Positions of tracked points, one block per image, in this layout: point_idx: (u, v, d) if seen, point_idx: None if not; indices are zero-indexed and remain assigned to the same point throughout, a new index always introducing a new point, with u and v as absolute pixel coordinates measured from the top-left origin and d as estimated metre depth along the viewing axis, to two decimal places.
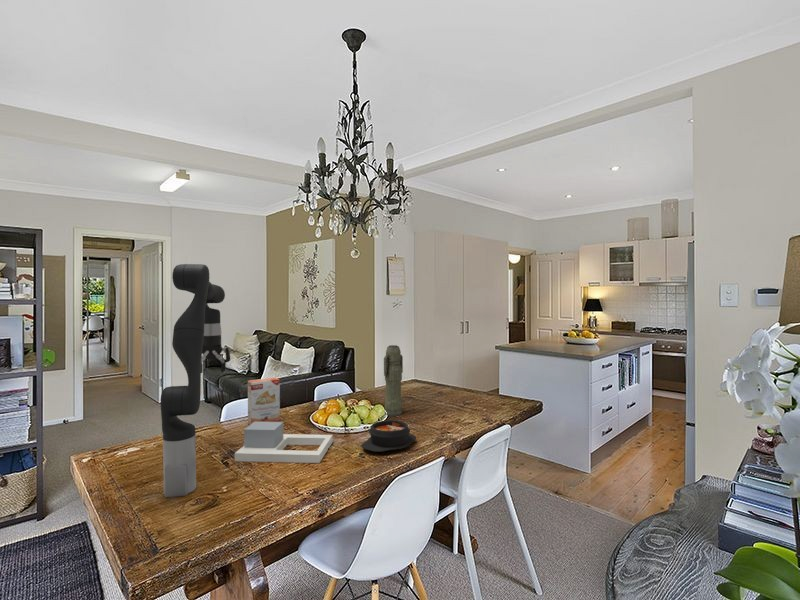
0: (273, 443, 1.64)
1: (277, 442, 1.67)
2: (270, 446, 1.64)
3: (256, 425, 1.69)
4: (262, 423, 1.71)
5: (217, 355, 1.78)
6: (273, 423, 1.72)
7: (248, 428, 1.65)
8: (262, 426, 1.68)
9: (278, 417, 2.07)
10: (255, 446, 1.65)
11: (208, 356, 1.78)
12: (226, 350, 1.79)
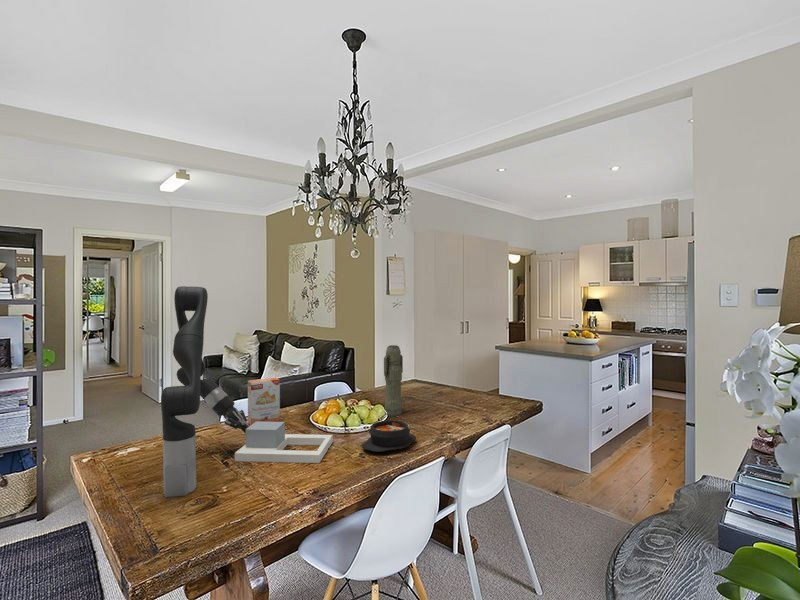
0: (275, 443, 1.64)
1: (278, 442, 1.67)
2: (272, 446, 1.64)
3: (257, 425, 1.69)
4: (264, 423, 1.71)
5: (239, 414, 1.71)
6: (275, 423, 1.72)
7: (250, 428, 1.65)
8: (264, 426, 1.68)
9: (278, 417, 2.07)
10: (257, 446, 1.65)
11: None
12: (242, 411, 1.75)
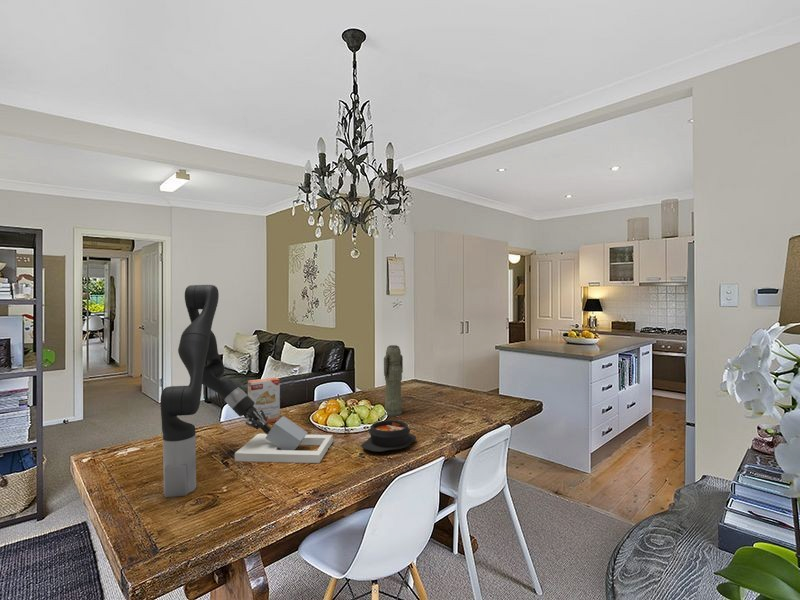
0: None
1: None
2: None
3: (285, 423, 1.69)
4: (290, 424, 1.71)
5: (260, 414, 1.71)
6: (299, 429, 1.72)
7: (278, 425, 1.65)
8: (290, 428, 1.68)
9: (278, 417, 2.07)
10: (275, 443, 1.64)
11: (256, 415, 1.70)
12: (262, 411, 1.74)
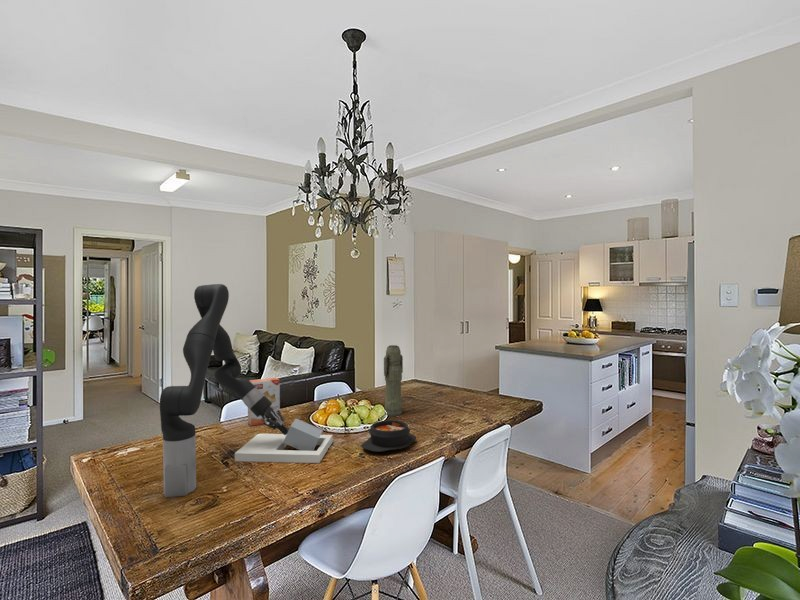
0: (312, 450, 1.65)
1: None
2: None
3: (299, 425, 1.69)
4: (304, 425, 1.72)
5: (277, 414, 1.70)
6: (314, 428, 1.72)
7: (294, 427, 1.65)
8: (306, 428, 1.69)
9: None
10: (294, 446, 1.64)
11: (274, 415, 1.69)
12: (278, 412, 1.74)
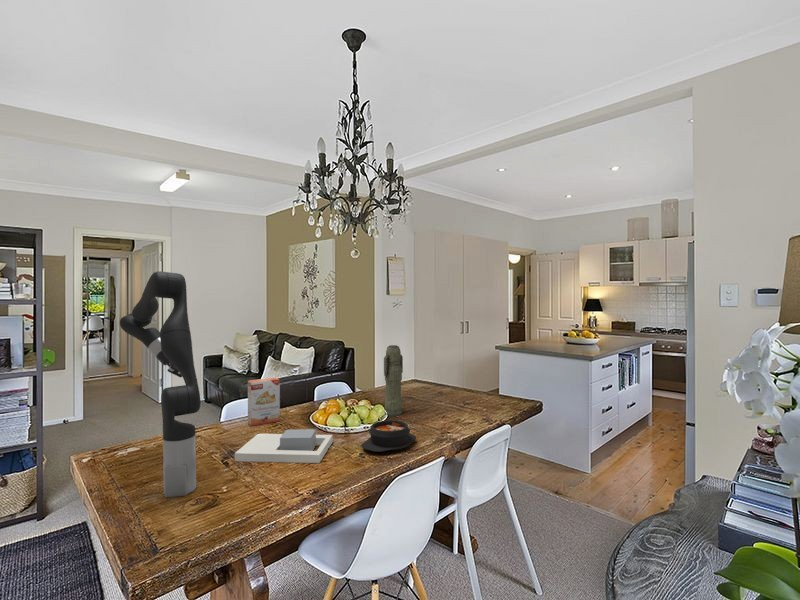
0: None
1: (312, 449, 1.68)
2: None
3: (290, 433, 1.69)
4: (295, 431, 1.71)
5: None
6: (306, 431, 1.72)
7: (284, 437, 1.65)
8: (297, 434, 1.68)
9: (278, 417, 2.07)
10: None
11: None
12: None
